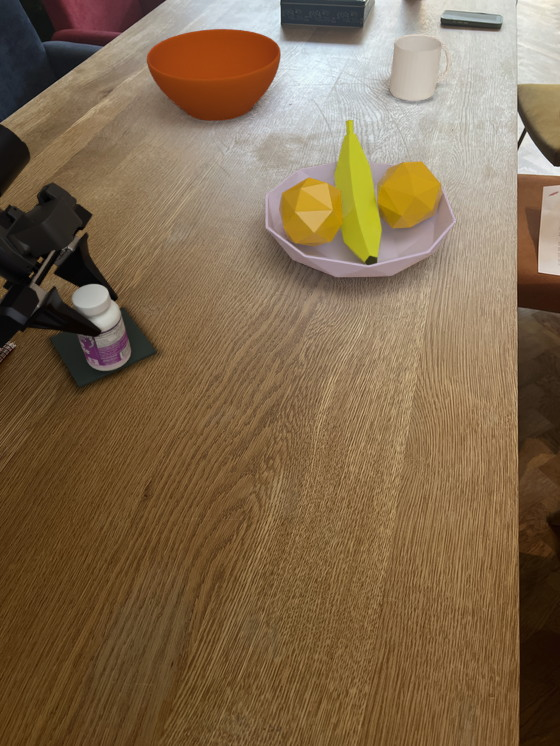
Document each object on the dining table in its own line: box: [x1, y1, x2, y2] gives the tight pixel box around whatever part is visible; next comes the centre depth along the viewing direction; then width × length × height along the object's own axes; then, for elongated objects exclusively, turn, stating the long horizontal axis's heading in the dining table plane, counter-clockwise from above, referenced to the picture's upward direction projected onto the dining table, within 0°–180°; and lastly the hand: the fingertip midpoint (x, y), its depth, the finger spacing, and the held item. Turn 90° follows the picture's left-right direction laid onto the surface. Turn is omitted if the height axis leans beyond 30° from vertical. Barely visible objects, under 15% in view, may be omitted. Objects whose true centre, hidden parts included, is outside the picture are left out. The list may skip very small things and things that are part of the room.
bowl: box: [146, 28, 282, 122], centre depth 119 cm, size 25×25×10 cm
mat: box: [49, 306, 157, 389], centre depth 76 cm, size 10×10×1 cm
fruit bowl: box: [264, 119, 457, 278], centre depth 86 cm, size 28×27×11 cm
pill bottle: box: [71, 284, 131, 371], centre depth 70 cm, size 5×5×10 cm
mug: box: [389, 33, 452, 102], centre depth 121 cm, size 12×9×9 cm
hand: (107, 317), depth 69 cm, fingers closed on pill bottle, 5 cm apart
